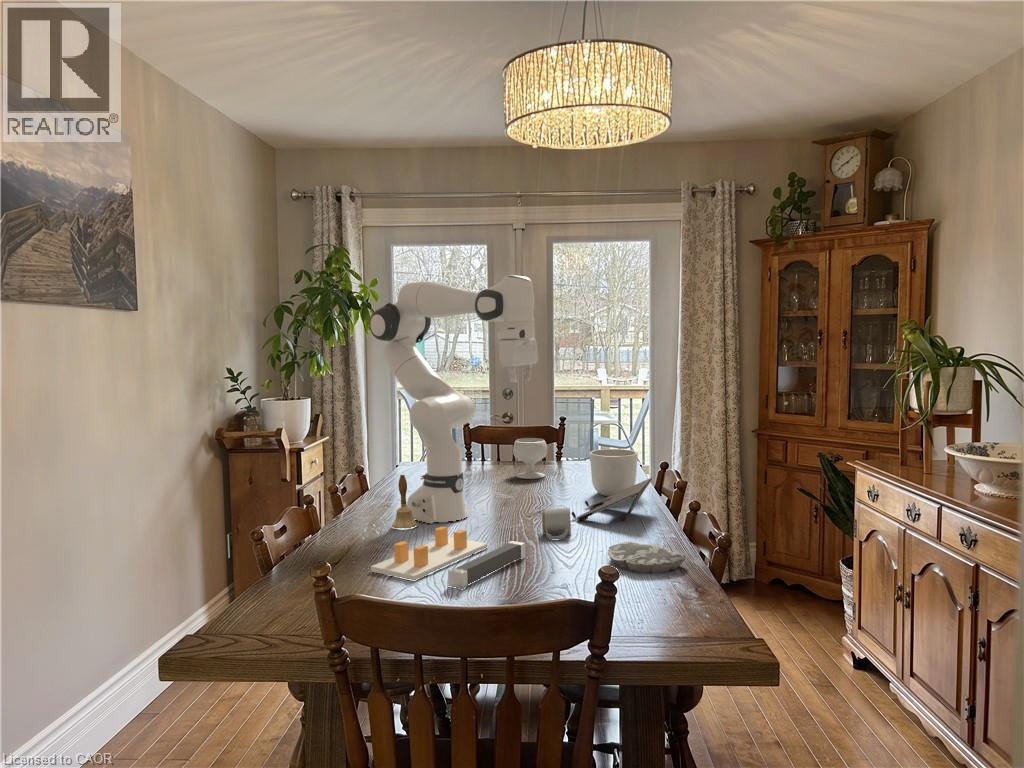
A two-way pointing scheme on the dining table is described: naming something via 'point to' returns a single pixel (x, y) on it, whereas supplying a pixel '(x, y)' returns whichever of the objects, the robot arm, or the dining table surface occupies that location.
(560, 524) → the ceramic mug
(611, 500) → the portable electronic device stand
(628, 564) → the brain slice
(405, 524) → the hand bell
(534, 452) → the chalice
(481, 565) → the bar
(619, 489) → the planter
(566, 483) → the dining table surface
